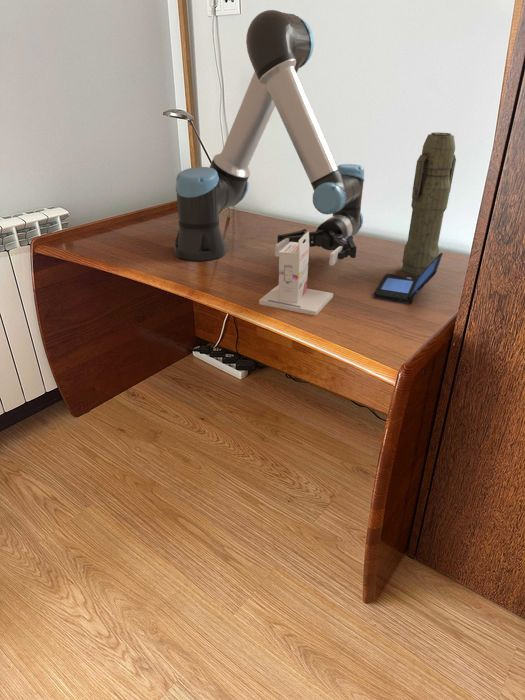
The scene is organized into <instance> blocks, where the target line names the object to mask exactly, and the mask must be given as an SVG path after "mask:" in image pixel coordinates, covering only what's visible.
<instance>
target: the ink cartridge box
mask: <svg viewBox="0 0 525 700" xmlns="http://www.w3.org/2000/svg"><path fill="white" fill-rule="evenodd" d="M309 232H310V231H308V230H307V233H306V234H305V235H303V236H302V237H301V238H300V239H299V241H298V243H297V242H289V243H288V244H287V245H286V246H285V247H284V248H283V249H282V250H281V251H280V252H279V256H278V285H279V295H278V300H281V301H288V302H295V303H298V301H299V300H300V299H301V297H302V296H303V294H304V293H305V292H306V290H307V289H308V273H309V255H310V247H309ZM304 240H305V243H303V241H304Z"/></svg>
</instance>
